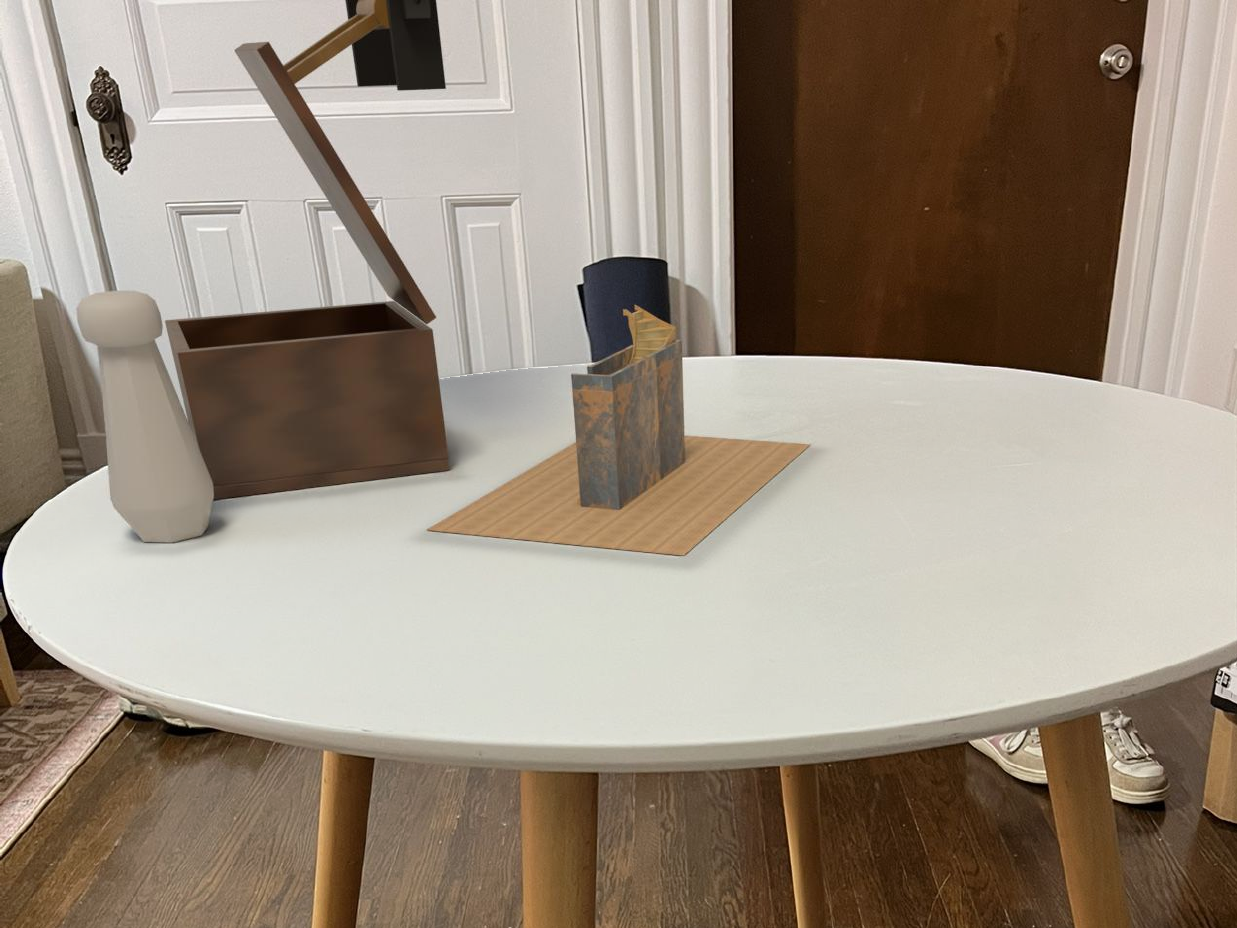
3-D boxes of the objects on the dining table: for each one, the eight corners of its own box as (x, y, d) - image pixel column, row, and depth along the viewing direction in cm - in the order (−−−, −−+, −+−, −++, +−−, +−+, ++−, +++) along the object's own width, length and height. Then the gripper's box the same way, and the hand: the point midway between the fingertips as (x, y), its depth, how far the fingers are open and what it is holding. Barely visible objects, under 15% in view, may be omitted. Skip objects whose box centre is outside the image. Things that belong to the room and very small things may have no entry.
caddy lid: (256, 49, 73) (390, -44, 73) (233, 50, 82) (352, -33, 82) (426, 324, 83) (543, 243, 83) (388, 296, 93) (493, 223, 93)
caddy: (211, 500, 84) (177, 352, 79) (195, 454, 93) (164, 320, 89) (450, 470, 88) (432, 328, 83) (412, 429, 98) (394, 300, 93)
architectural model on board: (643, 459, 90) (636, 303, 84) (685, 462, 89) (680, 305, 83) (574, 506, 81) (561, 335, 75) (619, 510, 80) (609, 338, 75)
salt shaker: (195, 549, 76) (135, 302, 68) (103, 547, 76) (34, 302, 69) (238, 518, 80) (187, 284, 73) (151, 516, 81) (92, 285, 74)
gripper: (240, -341, 78) (309, 86, 90) (298, -470, 59) (375, 94, 71) (367, -334, 80) (417, 82, 92) (462, -455, 61) (509, 89, 73)
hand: (399, 88), depth 81 cm, fingers open, 13 cm apart
